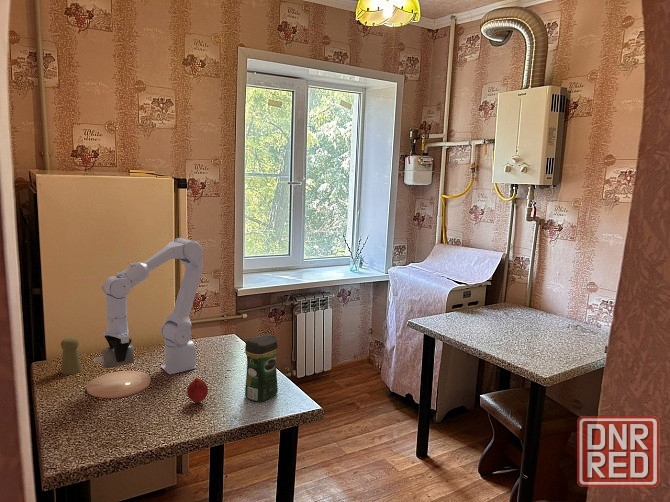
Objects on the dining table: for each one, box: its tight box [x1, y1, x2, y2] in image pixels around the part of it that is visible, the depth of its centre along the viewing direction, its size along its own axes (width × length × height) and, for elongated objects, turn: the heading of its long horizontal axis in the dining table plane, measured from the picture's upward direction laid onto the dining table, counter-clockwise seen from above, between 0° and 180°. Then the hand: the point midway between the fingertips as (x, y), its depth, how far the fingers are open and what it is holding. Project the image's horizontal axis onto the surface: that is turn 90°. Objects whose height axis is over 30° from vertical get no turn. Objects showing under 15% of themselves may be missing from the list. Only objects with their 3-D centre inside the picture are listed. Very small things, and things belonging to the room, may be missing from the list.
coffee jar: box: [244, 333, 279, 403], centre depth 143 cm, size 10×8×19 cm
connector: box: [93, 343, 135, 369], centre depth 146 cm, size 11×4×5 cm, turn 131°
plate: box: [86, 370, 151, 399], centre depth 148 cm, size 18×18×1 cm
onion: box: [186, 375, 209, 404], centre depth 138 cm, size 6×6×8 cm
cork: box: [60, 337, 82, 376], centre depth 156 cm, size 6×6×11 cm
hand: (118, 359), depth 147 cm, fingers closed on connector, 4 cm apart
